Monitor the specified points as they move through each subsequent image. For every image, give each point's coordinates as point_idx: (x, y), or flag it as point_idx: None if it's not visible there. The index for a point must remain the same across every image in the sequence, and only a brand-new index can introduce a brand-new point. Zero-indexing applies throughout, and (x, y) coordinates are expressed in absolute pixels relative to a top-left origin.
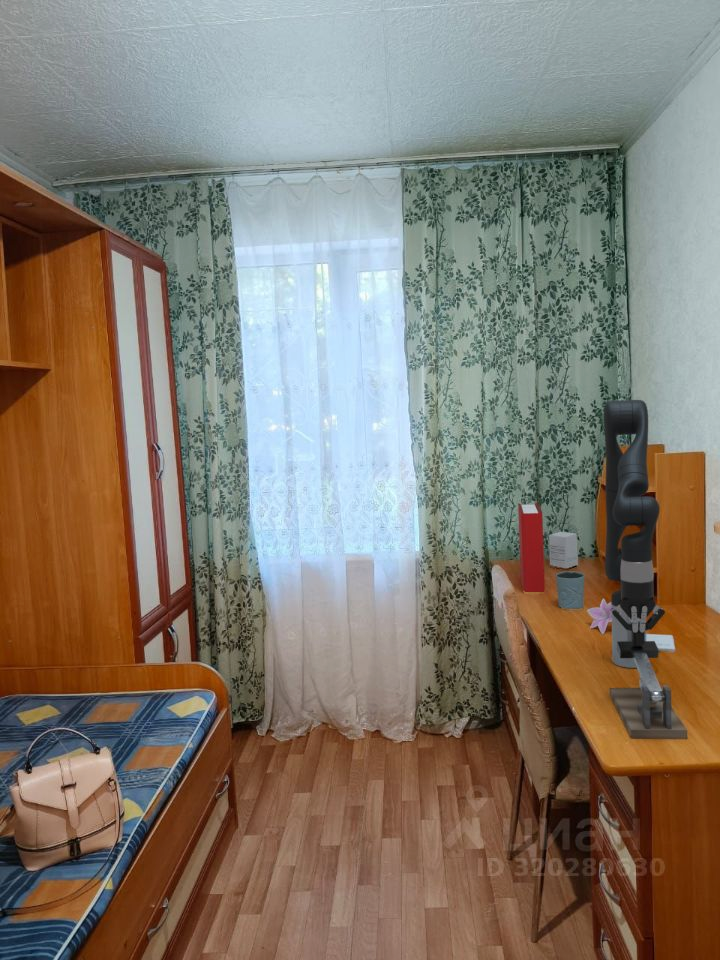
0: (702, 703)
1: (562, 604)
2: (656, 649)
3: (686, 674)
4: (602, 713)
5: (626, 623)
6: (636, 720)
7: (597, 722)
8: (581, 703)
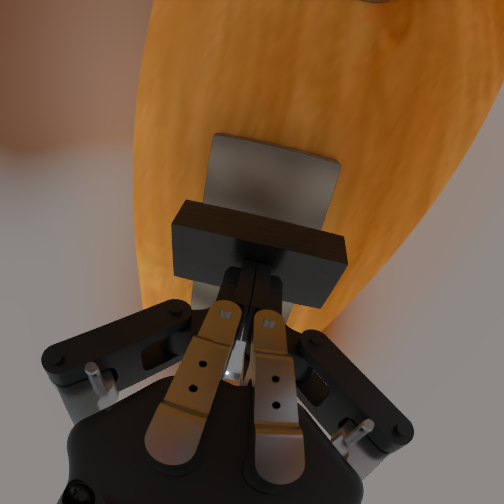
0: (396, 228)
1: None
2: (315, 304)
3: (454, 82)
4: (171, 222)
5: (161, 367)
6: (209, 301)
7: (153, 255)
8: (143, 167)
